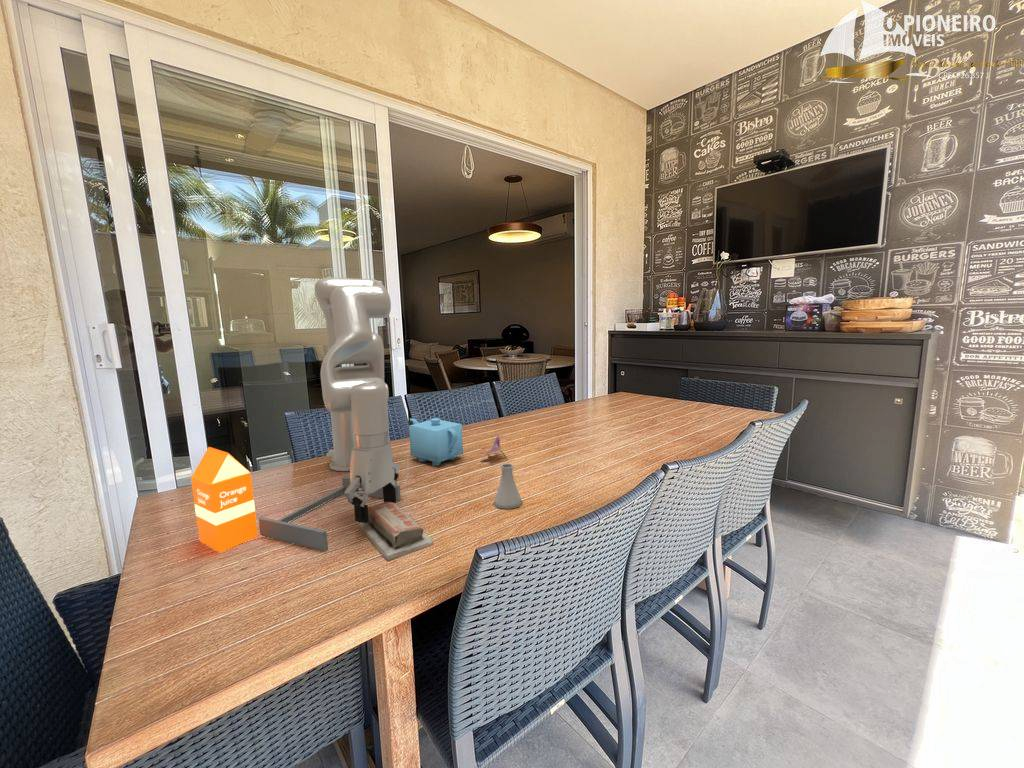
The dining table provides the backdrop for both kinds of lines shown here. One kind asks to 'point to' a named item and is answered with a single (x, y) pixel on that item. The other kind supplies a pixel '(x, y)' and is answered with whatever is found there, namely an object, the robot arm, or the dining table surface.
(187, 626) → the dining table surface
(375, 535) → the packaged product
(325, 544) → the grey twin-plate frame
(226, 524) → the orange juice
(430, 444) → the teapot
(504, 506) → the flask
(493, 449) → the lily
